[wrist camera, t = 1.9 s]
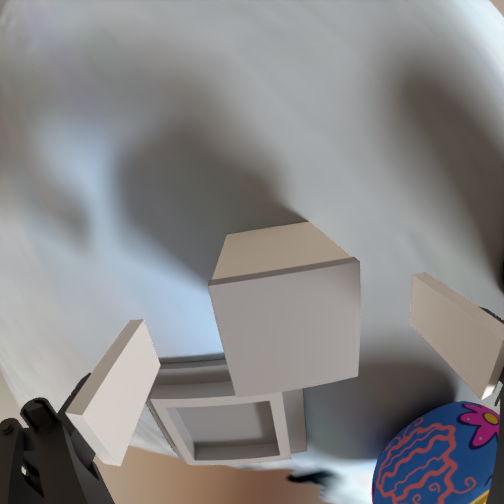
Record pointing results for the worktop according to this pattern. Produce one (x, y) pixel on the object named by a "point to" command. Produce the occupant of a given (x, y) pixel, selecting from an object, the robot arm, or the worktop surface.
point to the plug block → (286, 309)
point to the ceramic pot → (440, 458)
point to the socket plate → (224, 416)
